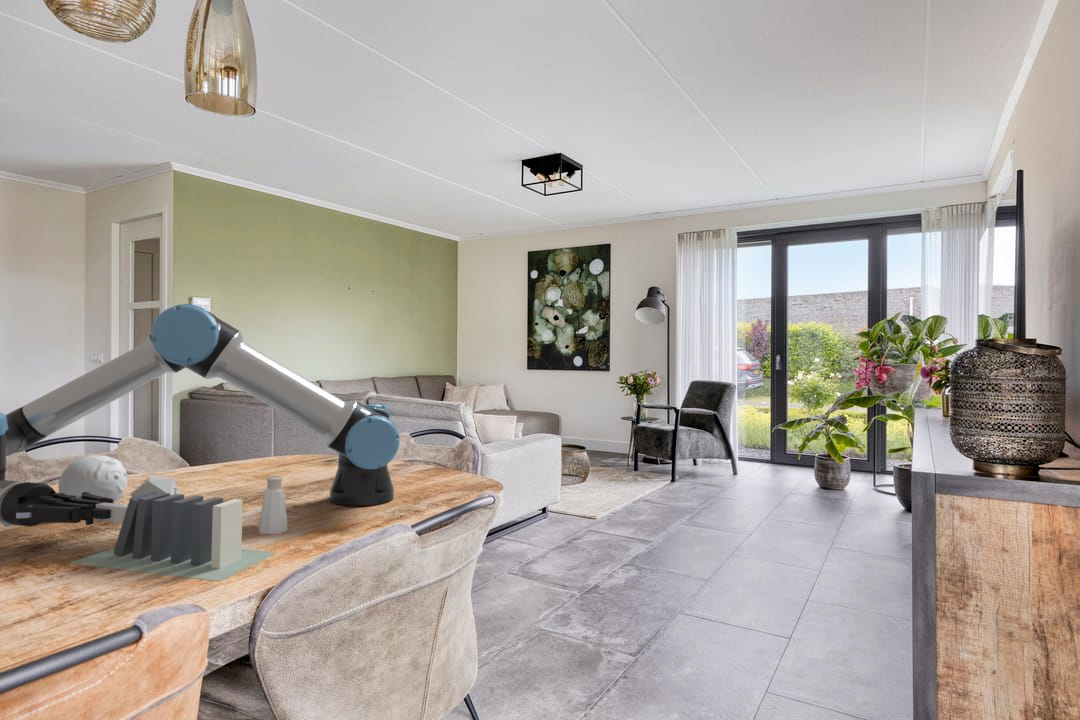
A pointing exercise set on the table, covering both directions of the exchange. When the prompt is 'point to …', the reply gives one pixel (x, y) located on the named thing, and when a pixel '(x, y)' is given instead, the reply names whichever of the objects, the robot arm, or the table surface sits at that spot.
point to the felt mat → (174, 565)
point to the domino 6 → (226, 533)
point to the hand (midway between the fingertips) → (130, 514)
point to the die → (157, 486)
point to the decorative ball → (94, 477)
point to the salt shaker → (273, 508)
